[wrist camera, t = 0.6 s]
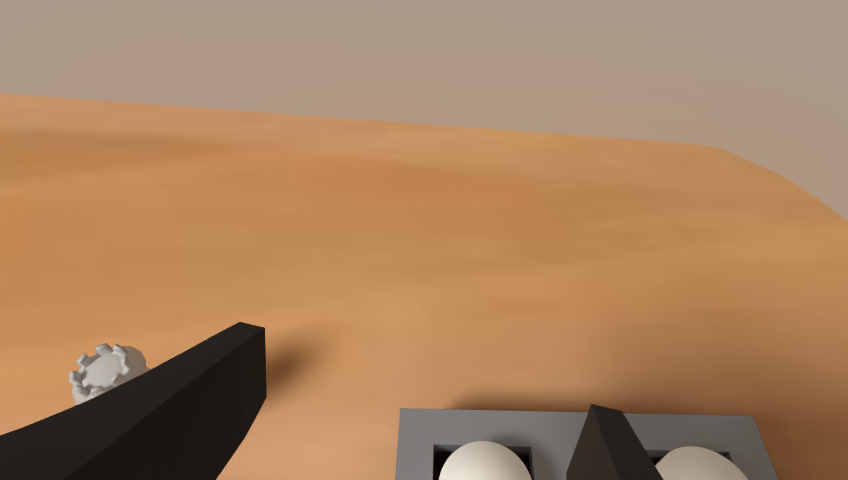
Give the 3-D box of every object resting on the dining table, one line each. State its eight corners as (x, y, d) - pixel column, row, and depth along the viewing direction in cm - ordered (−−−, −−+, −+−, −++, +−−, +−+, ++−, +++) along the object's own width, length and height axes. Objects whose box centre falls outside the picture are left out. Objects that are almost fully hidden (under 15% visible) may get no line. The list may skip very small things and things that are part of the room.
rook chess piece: (218, 388, 30) (159, 319, 24) (206, 465, 27) (136, 407, 21) (143, 399, 30) (64, 331, 24) (123, 477, 27) (28, 423, 21)
